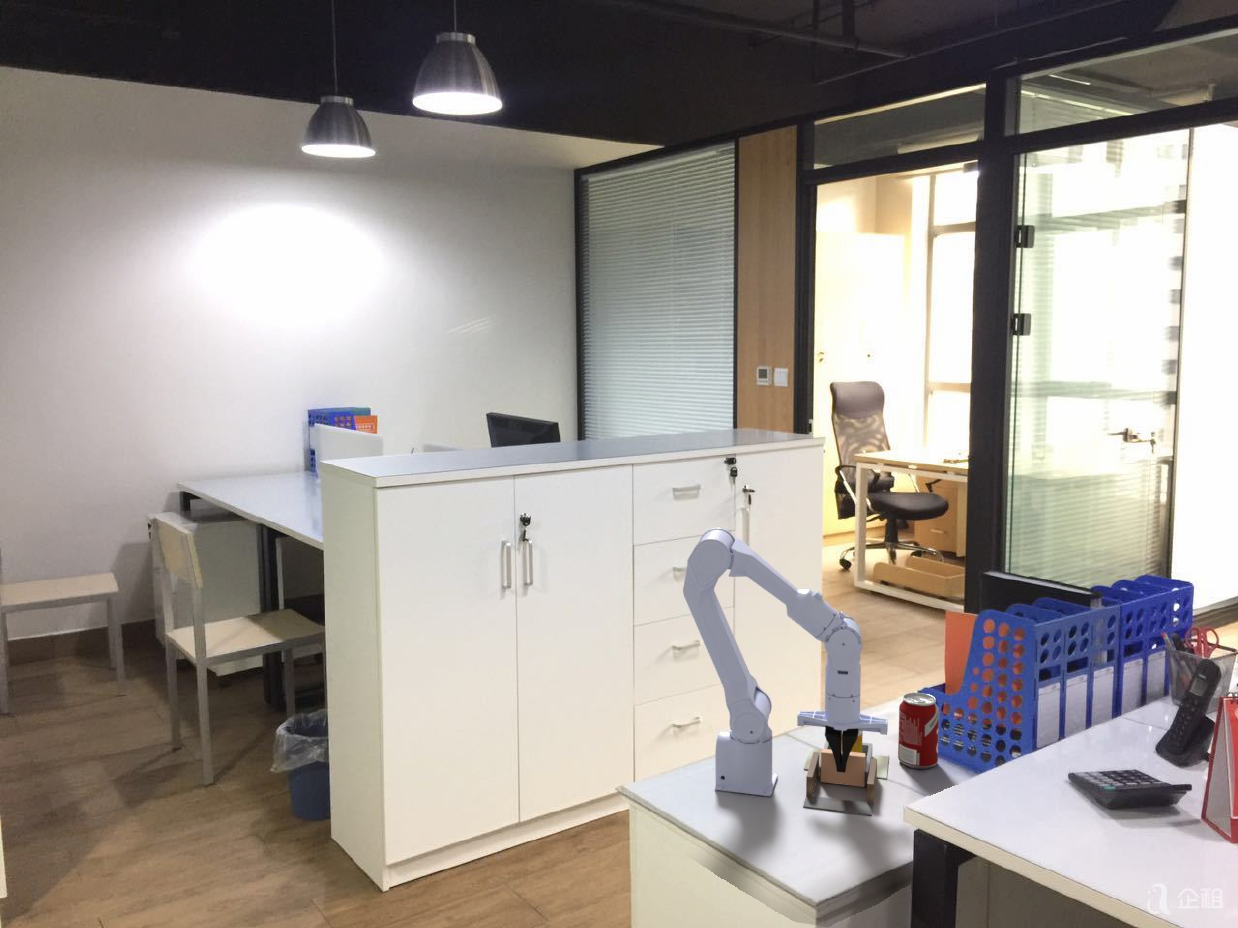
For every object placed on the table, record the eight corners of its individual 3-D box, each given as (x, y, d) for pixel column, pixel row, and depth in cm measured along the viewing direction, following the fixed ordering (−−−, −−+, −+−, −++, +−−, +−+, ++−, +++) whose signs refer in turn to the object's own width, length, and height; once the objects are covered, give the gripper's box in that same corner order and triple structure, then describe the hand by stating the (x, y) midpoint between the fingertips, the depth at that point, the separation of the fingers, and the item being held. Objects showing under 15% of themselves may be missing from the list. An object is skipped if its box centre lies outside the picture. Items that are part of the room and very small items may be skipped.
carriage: (817, 781, 173) (818, 751, 173) (826, 749, 186) (826, 721, 185) (867, 787, 171) (867, 757, 170) (872, 754, 184) (872, 726, 183)
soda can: (915, 774, 176) (916, 708, 174) (890, 759, 182) (891, 695, 181) (945, 766, 179) (947, 701, 177) (920, 752, 185) (921, 688, 183)
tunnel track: (793, 805, 166) (793, 785, 165) (810, 748, 187) (810, 730, 187) (882, 817, 161) (882, 796, 161) (888, 757, 183) (889, 738, 182)
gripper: (795, 696, 166) (794, 774, 168) (887, 704, 162) (885, 785, 164) (800, 681, 173) (799, 757, 175) (888, 688, 168) (887, 766, 170)
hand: (841, 769), depth 170 cm, fingers closed
